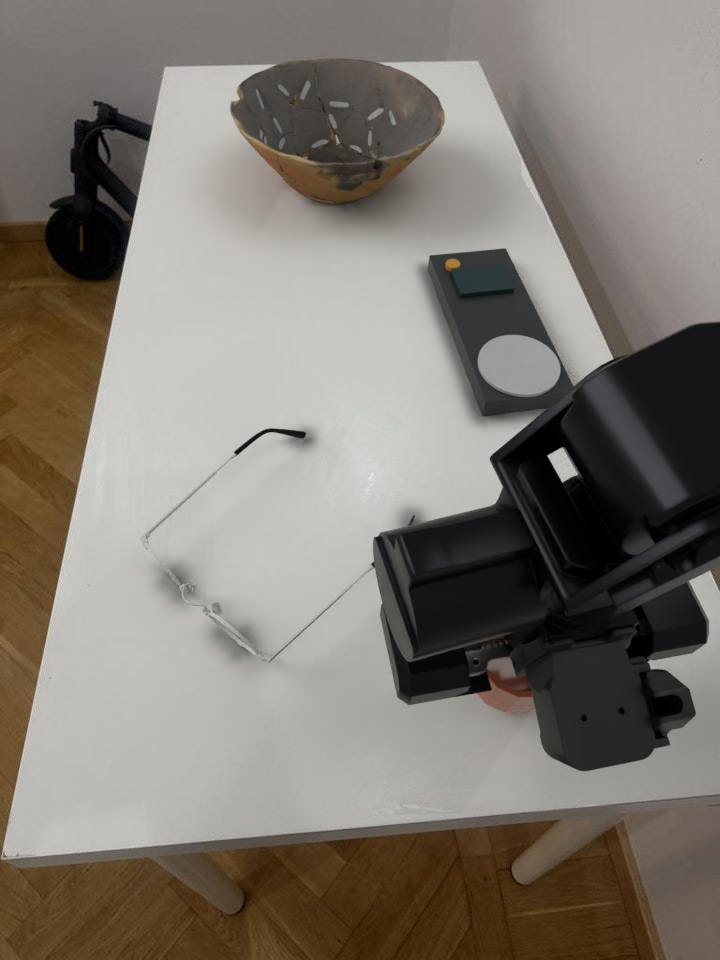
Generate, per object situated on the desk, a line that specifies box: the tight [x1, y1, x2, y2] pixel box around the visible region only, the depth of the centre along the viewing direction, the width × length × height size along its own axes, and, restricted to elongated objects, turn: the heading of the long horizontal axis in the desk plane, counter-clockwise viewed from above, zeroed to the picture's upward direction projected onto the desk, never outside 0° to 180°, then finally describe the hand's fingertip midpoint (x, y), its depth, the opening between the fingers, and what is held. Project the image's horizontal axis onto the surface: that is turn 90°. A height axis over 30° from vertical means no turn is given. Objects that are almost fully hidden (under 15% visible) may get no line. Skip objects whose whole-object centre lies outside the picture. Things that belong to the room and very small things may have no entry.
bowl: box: [229, 57, 446, 205], centre depth 78 cm, size 25×25×10 cm
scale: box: [427, 247, 575, 417], centre depth 67 cm, size 22×9×3 cm, turn 10°
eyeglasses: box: [139, 427, 416, 664], centre depth 51 cm, size 16×19×5 cm
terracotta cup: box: [476, 640, 535, 714], centre depth 44 cm, size 6×6×4 cm
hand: (510, 666), depth 45 cm, fingers closed on terracotta cup, 6 cm apart
